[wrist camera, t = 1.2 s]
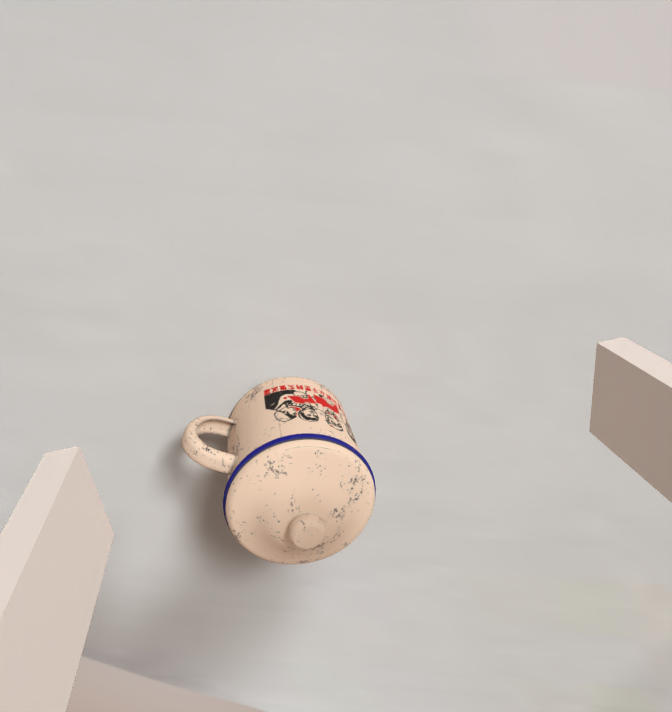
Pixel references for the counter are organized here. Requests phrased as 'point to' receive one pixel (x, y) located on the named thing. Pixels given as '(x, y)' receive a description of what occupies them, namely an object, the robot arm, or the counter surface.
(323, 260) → the counter surface
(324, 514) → the teacup with lid
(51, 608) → the robot arm
